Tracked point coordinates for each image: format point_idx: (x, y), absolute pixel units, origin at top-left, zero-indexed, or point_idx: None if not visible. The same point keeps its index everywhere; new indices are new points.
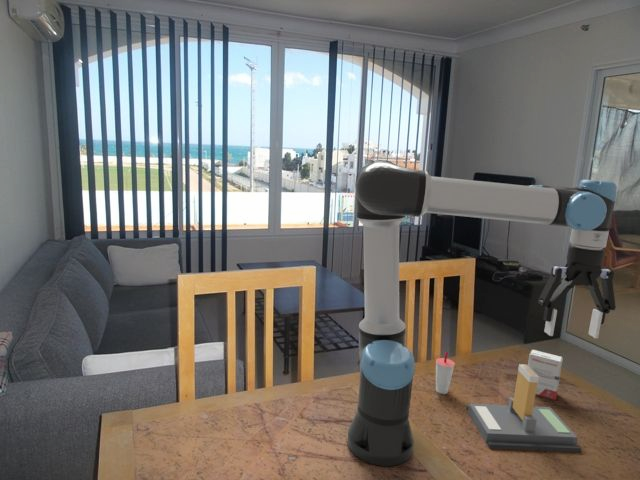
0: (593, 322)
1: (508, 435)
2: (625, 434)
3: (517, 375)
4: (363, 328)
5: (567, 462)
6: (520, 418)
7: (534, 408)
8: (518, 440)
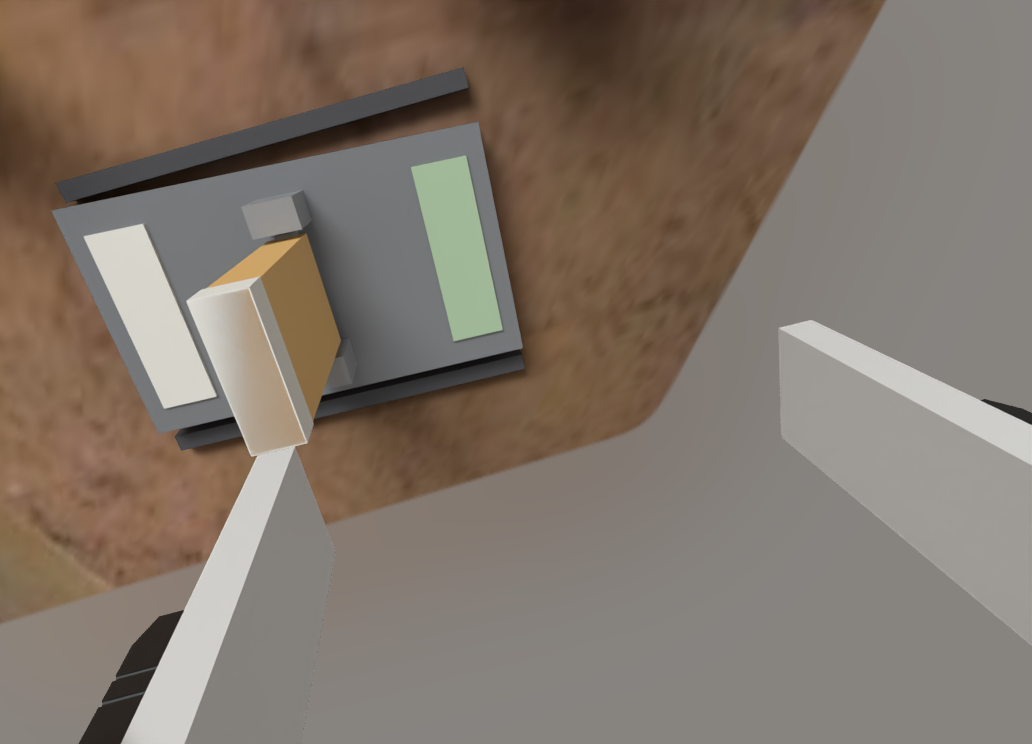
0: (891, 447)
1: None
2: (751, 188)
3: (215, 281)
4: None
5: (455, 434)
6: None
7: (395, 159)
8: None
